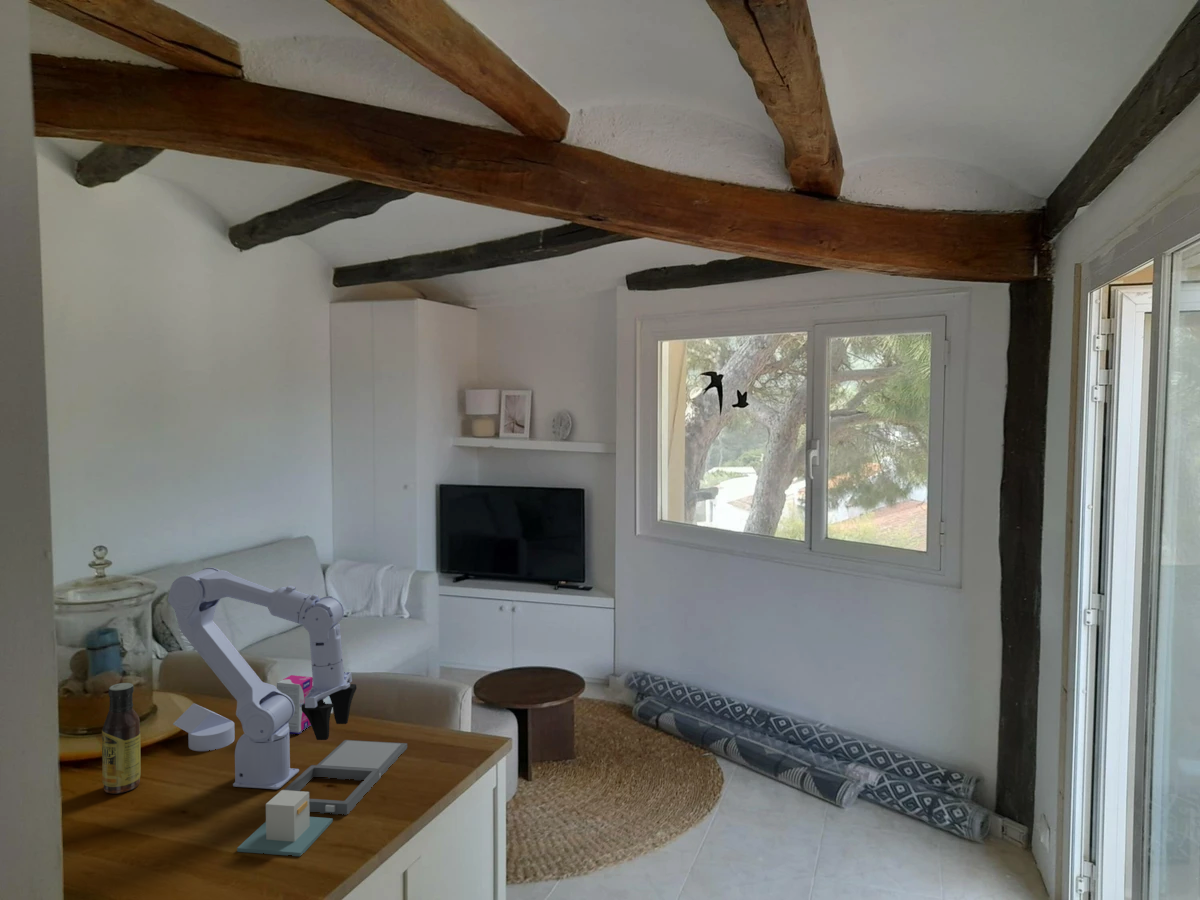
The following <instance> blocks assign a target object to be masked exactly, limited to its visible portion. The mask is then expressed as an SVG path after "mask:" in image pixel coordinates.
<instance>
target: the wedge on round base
mask: <svg viewBox="0 0 1200 900" xmlns="http://www.w3.org/2000/svg"><path fill="white" fill-rule="evenodd" d="M172 725H173V726H175V727H177V728H179V729H181V730H183V731H185V732H186V733H188V735H187V736H188V737H187V739H188V740H187V742H188V743H187V744H188V748H189V750H192V751H195V752H208V751H209V750H210V751H215V749H216V750H219V749H222V748H225V747H227V746H230V745H231V744H233V742H235V738H236V737H235V735H236V733H235V730H236V729H235V722H234V721H233V720H231V719H229V718H227V717H225V716H223V715H220V714H218V713H217V712H215V711H213V710H210V709H208V708H206V707H203V706H201V705H199V704H197V703H192V704H191V705H190V706H189V707H188V708H187V709H186V710H185V711H184V712H183V713H182V714H181V715H180V716H179V717H178V718H177V719H176V720H175V721H174V722H173V724H172Z"/></svg>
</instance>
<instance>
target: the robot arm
mask: <svg viewBox="0 0 1200 900" xmlns="http://www.w3.org/2000/svg"><path fill="white" fill-rule="evenodd" d="M167 598H168V599H167V603H169V605H170V606H171V608H172V609H173V610H174V613H175V617H176V621H177V623H178V625H177V626H178V627H179V630H180V632H181V634H182V635H183V636H184V637H185V639H186V640H187V641H188V642H189V643H190V644H191V646H192V648H194V650H195V651H196V653H198V655H199V656H200V657H201V658H202V659H203V661H204V662H205V664H206V665H208V667H209V668H210V669H211V671H212V672H213V673H214V674H215V675H216V677H217V678H218V680H219V681H220V682H221V683H222V684H223V685H224V686H225V688H226V689H227V691H228V692H229V693H230V694H231V696H232V697H233V698H234V699H235V700H236V711H235V716H236V717H237V718H238V720H239V721H240V724H241V727H242V731H243V734H241V736H240V737H239V738H238V740H237V742H236V744H235V750H234V779H235V780H234V783H232V786H233V787H237V788H250V789H251V788H252V789H266V790H279V789H280V788H282V787H283V786H284V785H286V784H287V782H289V781H290V780H291V779H292V778H293V777H295V776H296V775H297V774H298V773H299V772H300V769H299V768H291V758H290V757H291V754H290V753H291V752H290V751H291V750H290V746H291V745H290V743H291V742H290V734H289V721H290V720H291V718H292V717H293V715H294V712H295V706H294V702H293V701H292V699H291V698H290V697H289V696H288V695H286V694H284V693H282V692H280V691H279V690H278V689H277V686H276V685H274V684H271V683H267V682H264V681H262V679H261V678H260V677H259V676H258V674H257V673H256V671H254V669H253V668H252V667H251V666H250V665H249V663H248V662H247V661H246V659H245V658H244V657H243V656H242V655H241V653H240V652H239V651H238V650H237V649H236V647H235V646H234V645H233V643H232V642H231V641H230V639H228V637H227V636H226V634H225V633H224V632H223V630H222V629H220V627H219V626H218V625H217V624H216V622H215V621H214V618H215V617H214V616H215V611H216V607H217V606H218V604H219V602H220V601H221V599H225V598H231V599H235V600H239V601H242V602H246V603H250V604H254V605H259V606H262V607H266V608H267V609H268V611H269V613H270V615H271V616H273V617H276V618H280V619H283V620H286V621H290V622H292V623H295V624H299V625H303V627H304V628H305V630H306V631H307V632H308V635H309V636H308V637H309V646H310V647H309V648H310V659H311V661H310V662H311V663H310V664H311V675H312V676H311V677H313V686H312V688H311V690H310V692H309V694H308V695H307V696H306V697H305V698H304V699H305V703H304V704H303V705H302V706H301V708H302V711H303V713H304V714H305V715H306V716H307V718H308V720H309V721H310V723H311V728H312V731H313V733H314V736H315V739H316V741H327V740H328V739H329V737H330V720H331V719H330V718H331V714H332V711H333V715H334V716H333V717H334V720H335V724H336V725H347V724H348V722H349V716H350V710H351V705H352V701H353V697H354V695H355V693H356V690H357V684H355V683H352V682H353V677H352V672H351V671H344V662H343V661H344V659H343V646H342V635H341V634H342V633H341V624H340V622H341V620H342V619H343V617H344V613H345V612H344V611H345V610H344V606H343V604H342V603H341V601H339V600H338V599H337V598H335V597H334V596H331V595H327V596H322V597H321V598H320V596H319V594H315V593H314V594H309V593H305V592H302V591H298V590H296V586H293V585H291V584H290V585H288V586H282V587H279V588H278V589H272V588H269V587H267V586H265V585H262V584H260V583H256V582H254V581H251V580H248V579H246V578H243V577H240V576H238V575H235V574H233V573H231V572H229V570H225V569H221V570H220V569H218V568H217V567H211V566H210V567H205V568H203V569H201V570H199V571H195V572H192V573H191V574H188V575H181V576H179V577H177V578H176V579H174V580H173V582H172V583H171V586H170V588H169V593H168V597H167ZM328 697H329V699H330V702H331V703H326V701H324V700H325V699H327V698H328Z"/></svg>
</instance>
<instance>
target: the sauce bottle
mask: <svg viewBox="0 0 1200 900" xmlns="http://www.w3.org/2000/svg"><path fill="white" fill-rule="evenodd" d="M133 693H134V684H133V683H131V682H120V683H116V684H113V685H111V686H109V688H108V693H107V694H108V697H109V707H108V709H109V710H108V713H107V715H106V718H105V720H104V724H103V725H102V726H103V727H102V729H101V741H102V742H101V746H102V747H101V762H102V765H101V767H102V772H101V773H102V784H103V790H104V792H105V793H108V794H111V795H118V794H123V793H127V792H129V791H132V790H133V789H136V788H137V787H138V786H139V785H140V781H141V779H140V778H141V770H142V769H141V765H142V764H141V729H140V728H141V727H140V726H141V725H140V721H141V720H140V717H139V715H138V713H137V711H135V709H134V708H133V707H134V703H133V697H134V696H133Z"/></svg>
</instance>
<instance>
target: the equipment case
mask: <svg viewBox="0 0 1200 900" xmlns="http://www.w3.org/2000/svg"><path fill="white" fill-rule="evenodd" d="M407 749H408V743H405V742H390V741H389V742H387V741H372V740H371V741H368V740H356V739H355V740H353V739H352V740H351V739H344V740H343V741H341V743H340V744H339V745H337V747H335V748H334V749H333V750H332V751H331V752H330V753H329V754H328V755H326V756H325V757H324V758H323V759H322V760H321V761H319V763H318V764H311V765H310V766H309V767H307V768H306V769H305V770H304V771H303V772H302V773H301V774H300V775H299V776H297V777H296V778H295V779H294V780H293V781H292V782H291V783H289V784H288V785H287V786H286V787H285V788H284V789H283V790H289V791H302V789H304V788H305V787H306V786H307V785H308V784H309V783H310V782H311V781H312V780H313V779H314V778H313V777H328V778H327V779H330V778H337V779H336V780H345V779H349V780H350V779H354V780H353V781H361V780H364V781H361V782H360V783H359V785H358V786H357V787H356V788H355V789H354V790H352V792H351V793H350V794H349V795H348V796H347V798H345V800H335V799H322V798H321V799H320V798H309V812H320V813H319V814H324V813H330V814H329V815H338V814H342V815H341V816H348V815H349V814H350V813H351V812H352V810H354V809H355V808H356V806H357V805H358V804H359V803H360V801H361V800H362V799H363V798H364V797H365V796H366V795H367V794H368V793H369V792H370V791H371V789H372V788H373V787H374V786H375V785H376V784H377V782H379V781H380V779H381V778H382V777H383V776H384V775H385V774H386V773H387V772H388V770H389V769H390V768H391V767H392V766H393V765H392V764H395V763H396V761H397V760H398V759H399V758H400V757H401V756H402V755H403V754H404V753H405V752H406V750H407ZM401 754H402V755H401ZM400 755H401V756H400ZM399 756H400V757H399ZM398 757H399V758H398ZM391 765H392V766H391ZM390 766H391V767H390ZM389 767H390V768H389ZM388 768H389V769H388ZM384 773H385V774H384ZM383 774H384V775H383ZM382 775H383V776H382ZM381 776H382V777H381ZM312 778H313V779H312ZM311 779H312V780H311ZM310 780H311V781H310ZM349 780H348V781H349ZM309 781H310V782H309ZM308 782H309V783H308ZM307 783H308V784H307ZM375 783H376V784H375ZM306 784H307V785H306ZM374 784H375V785H374ZM373 785H374V786H373ZM371 787H372V788H371ZM367 792H368V793H367ZM366 793H367V794H366ZM365 794H366V795H365ZM364 795H365V796H364ZM363 796H364V797H363ZM358 802H359V803H358ZM357 803H358V804H357ZM356 804H357V805H356ZM350 811H351V812H350ZM331 813H332V814H331ZM343 814H344V815H343ZM347 814H348V815H347Z"/></svg>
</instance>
